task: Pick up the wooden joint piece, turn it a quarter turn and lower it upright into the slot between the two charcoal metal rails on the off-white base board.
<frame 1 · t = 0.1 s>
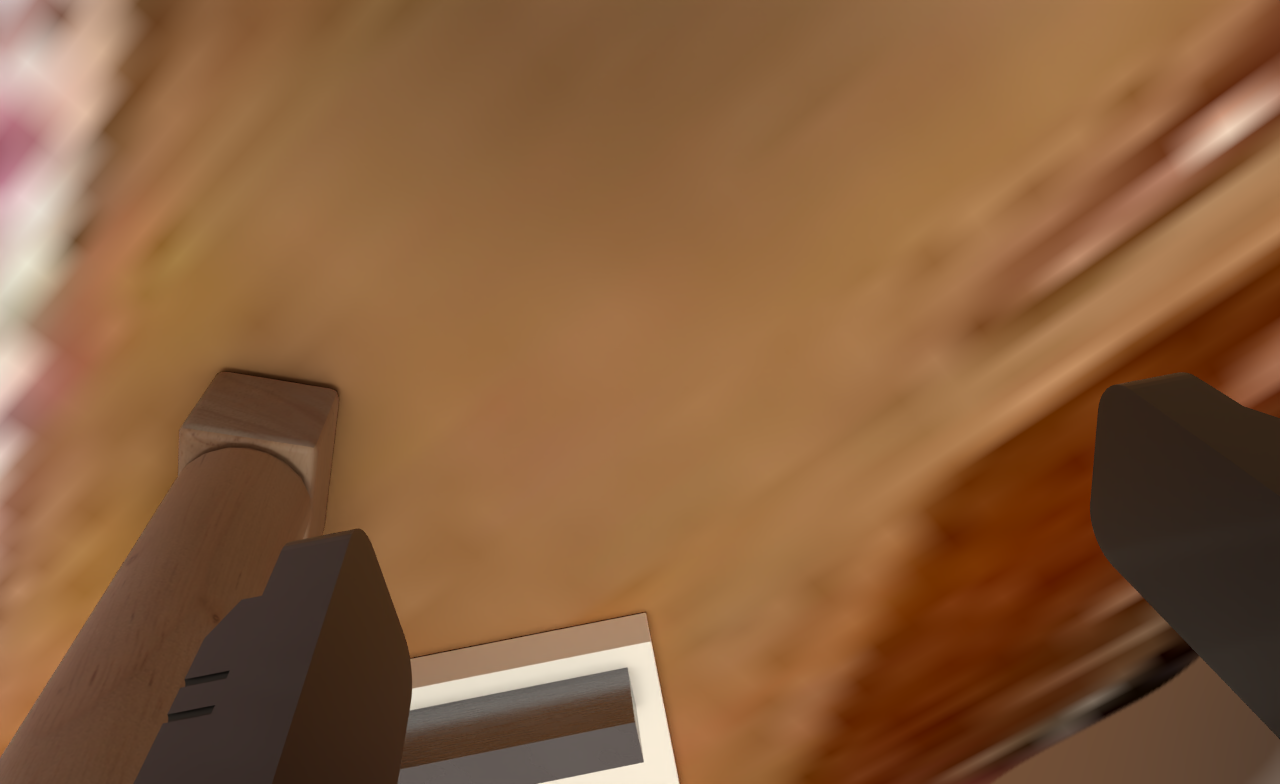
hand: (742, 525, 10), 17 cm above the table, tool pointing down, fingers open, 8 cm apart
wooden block: (271, 515, 29), on the table
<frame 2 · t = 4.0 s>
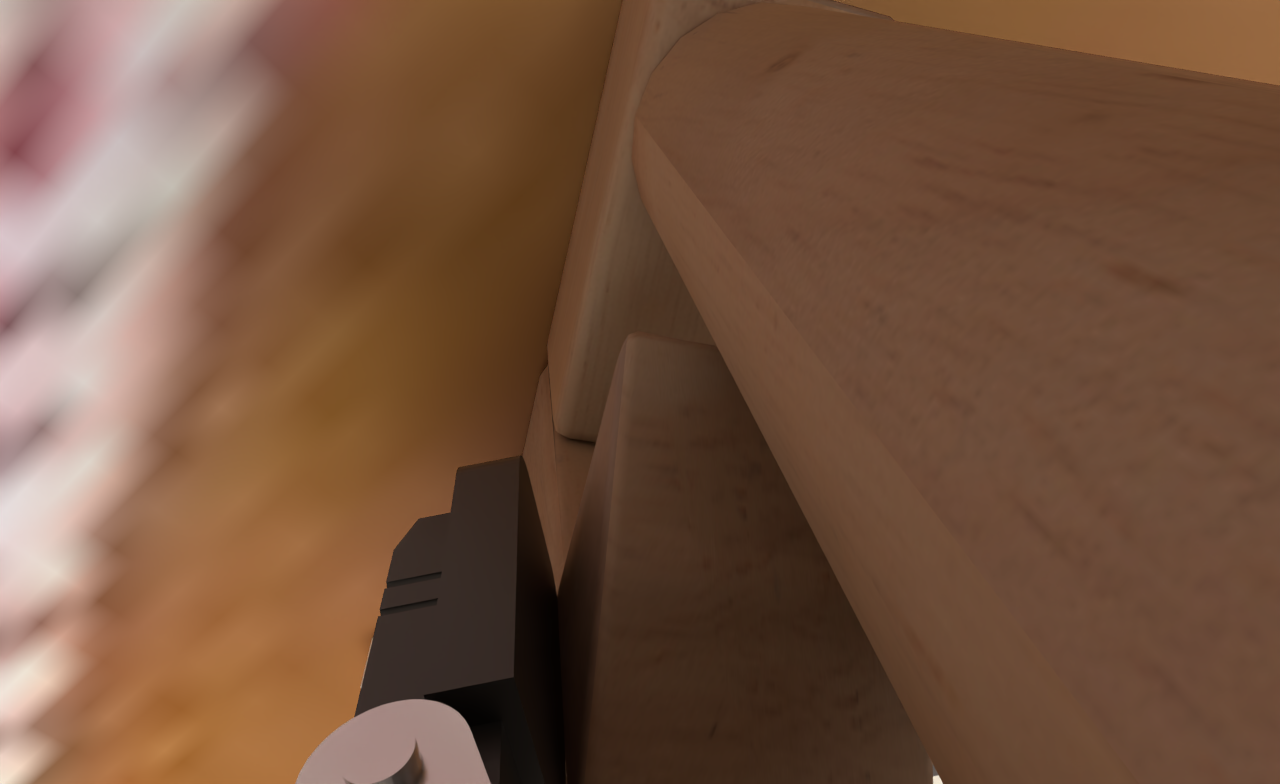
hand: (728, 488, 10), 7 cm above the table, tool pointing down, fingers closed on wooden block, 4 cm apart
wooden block: (653, 279, 17), on the table, touching gripper
when the fingers open (9 cm above the table, at t = 12.5 s): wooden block stays where it is, resting on slotted base.
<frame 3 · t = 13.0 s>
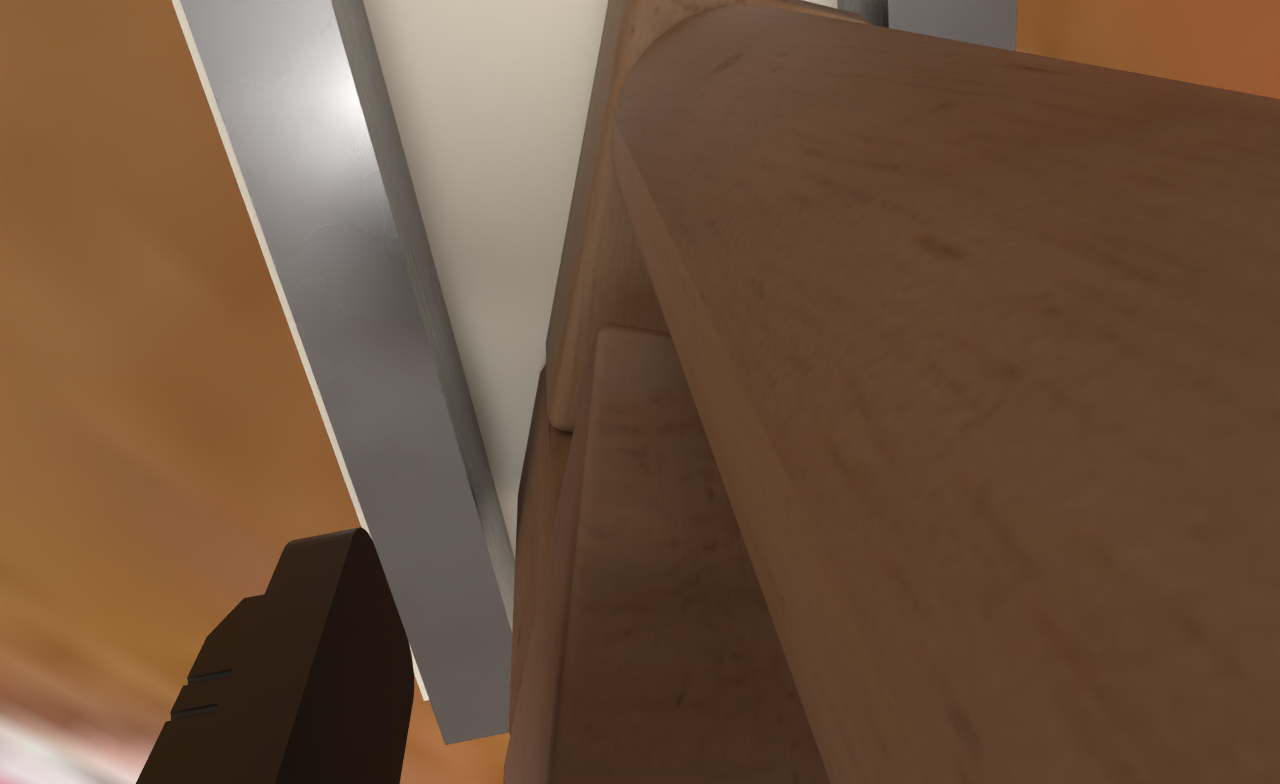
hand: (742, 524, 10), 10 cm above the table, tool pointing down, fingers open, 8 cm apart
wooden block: (648, 277, 18), point 1 cm above the table, touching slotted base
slotted base: (641, 254, 19), on the table
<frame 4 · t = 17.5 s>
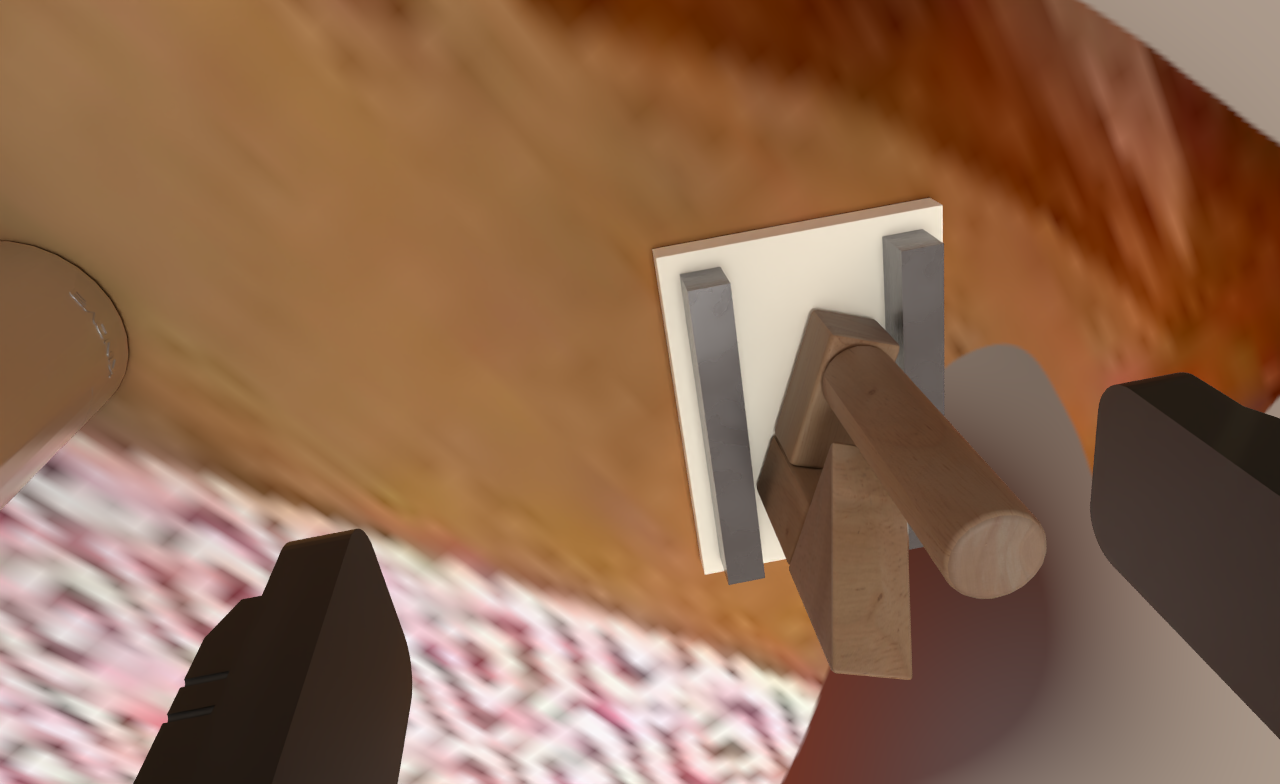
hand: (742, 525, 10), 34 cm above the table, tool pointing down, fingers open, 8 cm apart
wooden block: (812, 405, 47), point 1 cm above the table, touching slotted base
slotted base: (805, 393, 48), on the table
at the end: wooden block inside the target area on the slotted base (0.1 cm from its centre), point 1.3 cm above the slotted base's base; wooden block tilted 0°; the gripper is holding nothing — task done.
